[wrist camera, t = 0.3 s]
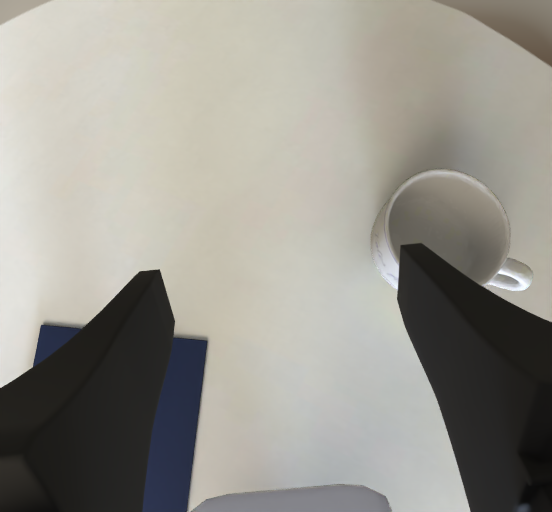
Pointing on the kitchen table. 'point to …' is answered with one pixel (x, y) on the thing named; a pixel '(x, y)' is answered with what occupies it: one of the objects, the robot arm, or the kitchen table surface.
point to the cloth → (161, 419)
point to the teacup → (449, 229)
